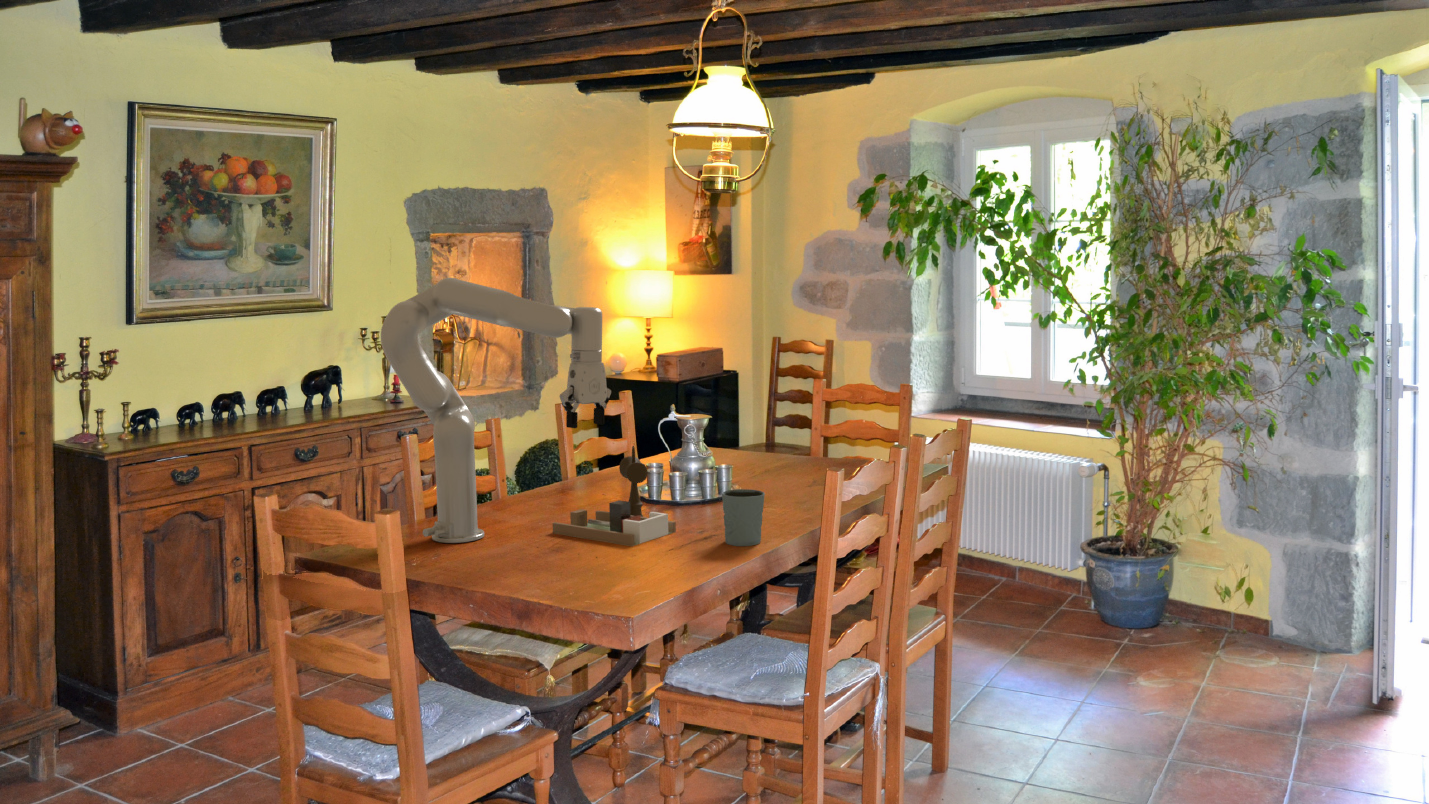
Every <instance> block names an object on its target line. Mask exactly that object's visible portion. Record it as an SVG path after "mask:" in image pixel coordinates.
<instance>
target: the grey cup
mask: <svg viewBox="0 0 1429 804" xmlns="http://www.w3.org/2000/svg"><path fill="white" fill-rule="evenodd" d="M721 496H722V510H723V513H724V515H723V526H724V541H725V544H727V545H730V546H733V547H751V546H755V545H756V546H757V545H759V544H760V543H761V541H762V526H763V512H764V506H765V505H764V504H765V503H764V502H765V492H764V491H761V490H756V489H749V488H748V489H747V488H746V489H744V488H742V489H740V488H739V489H737V488H736V489H727V490H725V491H722V492H721Z"/></svg>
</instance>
